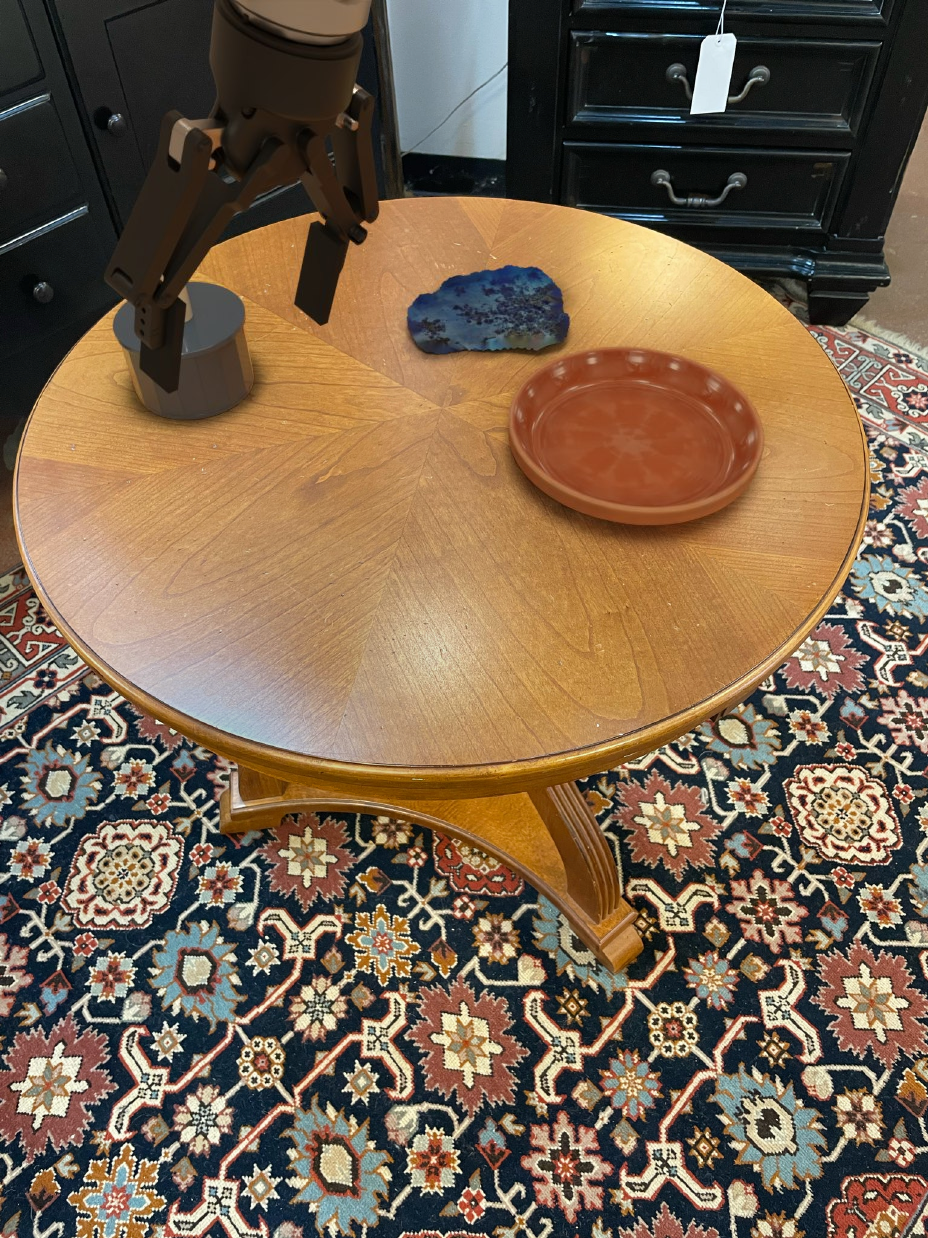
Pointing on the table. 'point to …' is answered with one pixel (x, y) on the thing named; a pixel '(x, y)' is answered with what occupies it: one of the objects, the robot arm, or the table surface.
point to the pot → (199, 383)
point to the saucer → (635, 435)
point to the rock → (490, 312)
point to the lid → (193, 320)
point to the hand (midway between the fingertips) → (239, 344)
